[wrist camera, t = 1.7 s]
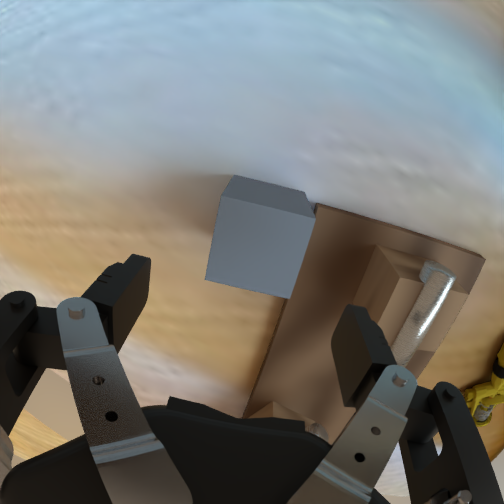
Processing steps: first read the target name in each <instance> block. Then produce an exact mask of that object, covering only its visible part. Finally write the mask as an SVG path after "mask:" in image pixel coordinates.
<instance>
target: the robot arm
mask: <svg viewBox="0 0 504 504" xmlns="http://www.w3.org/2000/svg"><path fill="white" fill-rule="evenodd" d="M150 269H151V259H150V258H148V257H144V256H140V255H136V254H132V255H131V256H130V257H129V258H128V259H127V260H126V261H125V262H124V264H122V263H119V262H117V263H115V264H113V265H111V266H109V267H107V268H106V269H105V270H104V272H103V273H102V275H100V276H99V277H98V278H97V280H95V281H94V283H93V284H92V285H91V286H90V287H89V288H88V289H87V290H86V291H85V293H84V294H83V295H82V296H81V297H73V298H68V299H66V300H64V301H62V302H61V303H60V304H59V305H58V307H57V308H49V307H40V306H37V304H36V299H35V297H34V296H33V295H32V294H31V293H29V292H26V291H14V292H11V293H8V294H7V295H5V296H4V297H3V298H2V299H1V300H0V504H390V503H389V502H388V501H387V500H386V499H385V498H384V497H383V496H382V495H381V494H380V493H379V492H378V491H377V490H376V489H375V488H374V486H375V485H376V483H377V481H378V479H379V478H380V476H381V474H382V472H383V470H384V468H385V466H386V465H387V463H388V461H389V459H390V457H391V455H392V453H393V451H394V449H395V447H396V445H397V443H398V442H399V446H400V450H401V455H402V459H403V464H404V469H405V474H406V479H407V484H408V489H409V494H410V500H411V504H504V501H503V498H502V495H501V492H500V489H499V485H498V483H497V480H496V477H495V473H494V471H493V468H492V465H491V462H490V460H489V457H488V454H487V452H486V449H485V446H484V444H483V441H482V439H481V436H480V434H479V432H478V429H477V427H476V424H475V422H474V420H473V417H472V415H471V413H470V411H469V408H468V406H467V404H466V402H465V400H464V397H463V395H462V393H461V392H460V391H459V389H458V388H457V387H455V386H454V385H452V384H451V383H448V382H439V383H437V384H436V386H435V387H434V388H433V390H430V389H427V388H424V387H421V386H418V385H417V380H416V378H415V376H414V375H413V374H412V373H411V372H410V371H409V370H407V369H406V368H404V367H402V366H399V365H397V362H396V360H395V358H394V355H393V353H392V351H391V349H390V346H388V342H387V340H386V339H385V335H384V333H383V331H382V329H381V328H380V327H379V326H378V325H377V323H376V322H375V321H373V320H371V318H370V316H369V313H368V311H367V309H366V308H365V307H362V306H357V305H352V304H348V305H346V307H345V309H344V311H343V313H342V315H341V317H340V319H339V322H338V324H337V326H336V328H335V330H334V332H333V335H332V338H331V350H332V354H333V359H334V363H335V368H336V372H337V377H338V381H339V386H340V390H341V395H342V400H343V404H344V407H353V408H355V409H356V412H355V413H354V414H353V416H352V417H351V418H350V420H349V421H348V423H347V424H346V425H345V427H344V428H343V430H342V431H341V432H340V434H339V435H338V436H337V438H336V439H335V440H334V442H333V443H332V444H329V443H328V442H327V441H325V440H324V439H322V438H321V437H319V436H317V435H315V434H313V433H310V432H308V431H305V421H301V420H292V419H284V418H276V417H265V418H244V419H240V418H235V417H232V416H230V415H227V414H225V413H222V412H220V411H218V410H215V409H213V408H211V407H208V406H206V405H204V404H200V403H195V402H191V401H187V400H183V399H179V398H175V397H171V396H170V397H169V400H168V403H167V405H153V406H145V407H141V408H140V405H139V403H138V401H137V399H136V397H135V395H134V392H133V390H132V388H131V386H130V383H129V381H128V379H127V376H126V374H125V372H124V369H123V367H122V364H121V362H120V359H119V357H118V353H119V351H120V349H121V347H122V345H123V344H124V342H125V340H126V338H127V336H128V335H129V333H130V331H131V329H132V327H133V326H134V324H135V322H136V320H137V319H138V317H139V315H140V313H141V312H142V310H143V308H144V306H145V304H146V301H147V298H148V292H149V281H150ZM46 368H52V369H61V370H67V372H68V376H69V380H70V384H71V388H72V392H73V396H74V399H75V403H76V407H77V410H78V414H79V417H80V420H81V423H82V427H83V430H84V433H85V434H84V435H82V436H80V437H77V438H75V439H73V440H71V441H69V442H67V443H65V444H62V445H60V446H58V447H56V448H54V449H51V450H49V451H47V452H45V453H42V454H40V455H38V456H35V457H33V458H31V459H28V460H26V461H24V462H22V463H20V464H18V465H16V466H15V467H14V468H12V467H11V461H12V457H13V451H14V450H13V444H12V442H11V440H10V438H9V437H8V436H9V434H10V432H11V430H12V429H13V427H14V425H15V423H16V421H17V419H18V417H19V415H20V413H21V411H22V410H23V408H24V406H25V404H26V402H27V400H28V399H29V397H30V395H31V393H32V391H33V390H34V388H35V386H36V385H37V383H38V381H39V379H40V378H41V376H42V374H43V373H44V371H45V369H46ZM438 432H439V434H440V437H441V440H442V443H443V447H442V451H441V453H440V455H439V456H438V454H437V451H436V447H435V444H434V441H433V437H434V436H435V435H436V434H437V433H438Z"/></svg>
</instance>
